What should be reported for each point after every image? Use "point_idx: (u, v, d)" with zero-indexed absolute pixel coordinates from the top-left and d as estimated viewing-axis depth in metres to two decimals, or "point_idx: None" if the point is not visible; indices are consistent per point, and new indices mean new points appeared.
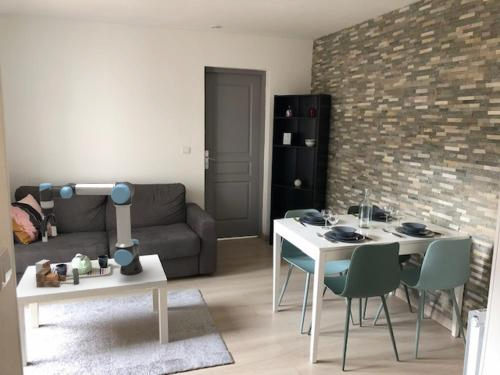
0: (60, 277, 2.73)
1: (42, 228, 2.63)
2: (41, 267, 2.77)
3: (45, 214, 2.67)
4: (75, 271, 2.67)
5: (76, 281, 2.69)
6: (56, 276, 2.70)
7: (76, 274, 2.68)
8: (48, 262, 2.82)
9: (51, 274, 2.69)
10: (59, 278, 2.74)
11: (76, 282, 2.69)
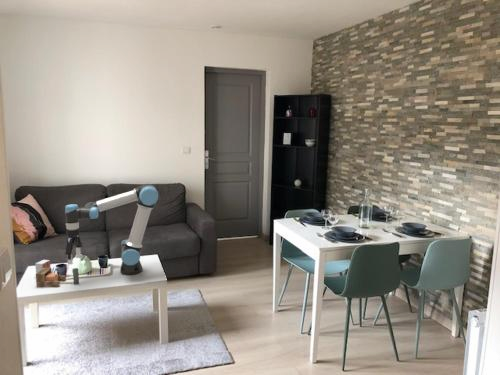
0: (60, 277, 2.73)
1: (68, 251, 2.57)
2: (41, 267, 2.77)
3: (71, 236, 2.61)
4: (75, 271, 2.67)
5: (76, 281, 2.69)
6: (56, 276, 2.70)
7: (76, 274, 2.68)
8: (48, 262, 2.82)
9: (51, 274, 2.69)
10: (59, 278, 2.74)
11: (76, 282, 2.69)
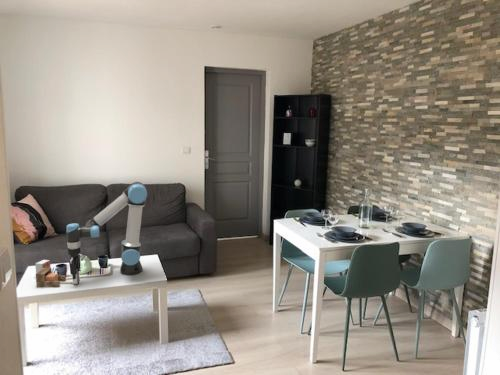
0: (60, 277, 2.73)
1: (72, 271, 2.63)
2: (41, 267, 2.77)
3: (72, 255, 2.63)
4: None
5: None
6: (56, 276, 2.70)
7: None
8: (48, 262, 2.82)
9: (51, 274, 2.69)
10: (59, 278, 2.74)
11: None
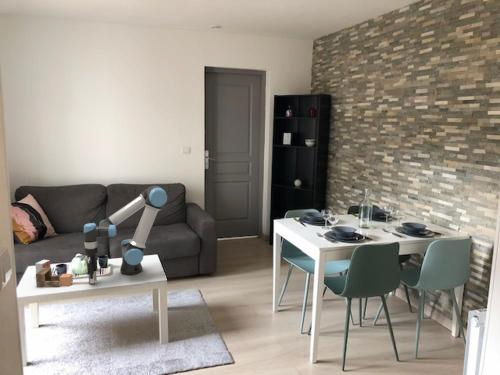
0: None
1: (90, 271, 2.64)
2: (41, 267, 2.77)
3: (89, 255, 2.64)
4: None
5: None
6: (71, 276, 2.70)
7: None
8: (48, 262, 2.82)
9: (66, 275, 2.69)
10: None
11: None
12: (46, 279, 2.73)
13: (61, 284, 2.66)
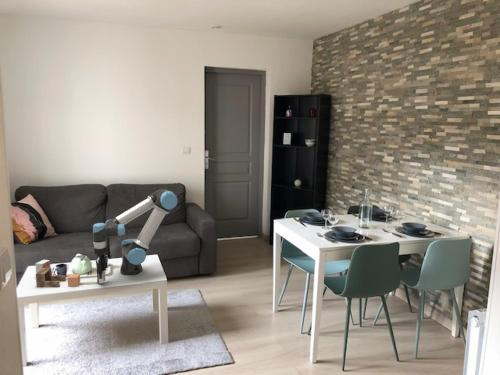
0: (60, 277, 2.73)
1: (99, 271, 2.64)
2: (41, 267, 2.77)
3: (98, 255, 2.64)
4: None
5: None
6: (79, 277, 2.69)
7: None
8: (48, 262, 2.82)
9: (73, 275, 2.68)
10: (59, 278, 2.74)
11: None
12: (46, 279, 2.73)
13: (69, 285, 2.65)
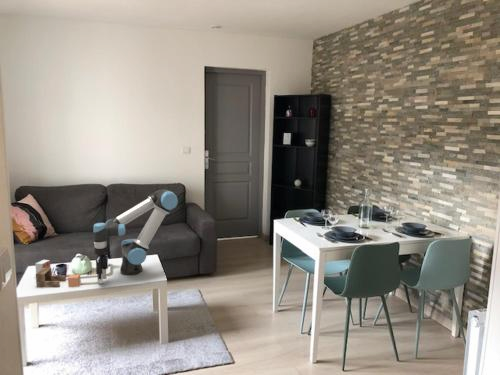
0: (60, 277, 2.73)
1: (98, 271, 2.62)
2: (41, 267, 2.77)
3: (99, 255, 2.64)
4: None
5: None
6: (79, 277, 2.69)
7: None
8: (48, 262, 2.82)
9: (74, 276, 2.67)
10: (59, 278, 2.74)
11: None
12: (46, 279, 2.73)
13: (70, 285, 2.65)
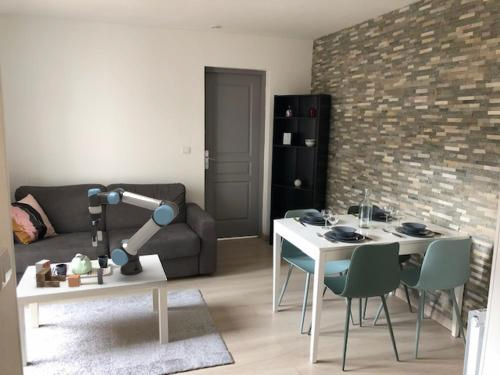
0: (60, 277, 2.73)
1: (93, 233, 2.67)
2: (41, 267, 2.77)
3: (94, 219, 2.71)
4: (100, 271, 2.68)
5: (100, 281, 2.69)
6: (79, 277, 2.69)
7: (101, 274, 2.68)
8: (48, 262, 2.82)
9: (74, 276, 2.67)
10: (59, 278, 2.74)
11: (100, 282, 2.69)
12: (46, 279, 2.73)
13: (70, 285, 2.65)
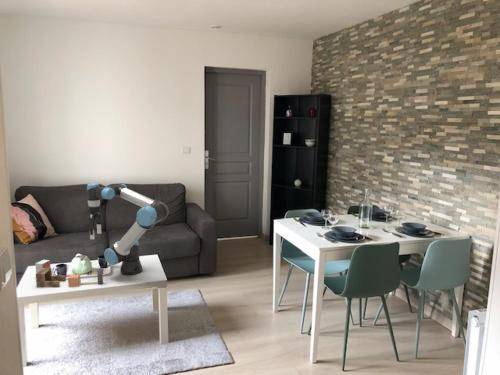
0: (60, 277, 2.73)
1: (90, 226, 2.73)
2: (41, 267, 2.77)
3: (92, 213, 2.77)
4: (100, 271, 2.68)
5: (100, 281, 2.69)
6: (79, 277, 2.69)
7: (101, 274, 2.68)
8: (48, 262, 2.82)
9: (74, 276, 2.67)
10: (59, 278, 2.74)
11: (100, 282, 2.69)
12: (46, 279, 2.73)
13: (70, 285, 2.65)
